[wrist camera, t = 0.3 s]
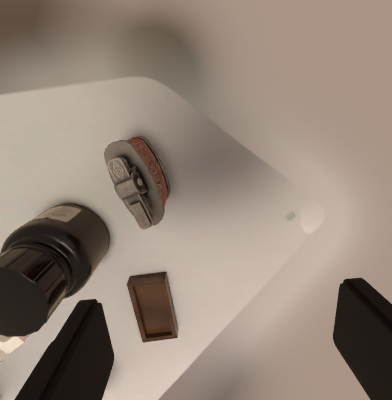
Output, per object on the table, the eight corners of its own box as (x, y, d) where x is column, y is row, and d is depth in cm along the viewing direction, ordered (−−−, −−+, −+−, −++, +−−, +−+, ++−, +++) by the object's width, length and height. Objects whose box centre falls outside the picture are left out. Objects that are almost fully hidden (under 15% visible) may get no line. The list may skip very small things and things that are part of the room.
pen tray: (129, 276, 32) (126, 284, 31) (166, 271, 32) (164, 279, 31) (144, 333, 35) (142, 342, 34) (178, 328, 35) (177, 338, 34)
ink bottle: (72, 186, 28) (-7, 228, 17) (126, 236, 30) (89, 304, 19) (21, 235, 30) (-81, 304, 19) (76, 279, 32) (14, 365, 21)
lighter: (120, 142, 27) (81, 153, 17) (147, 131, 27) (123, 135, 17) (150, 205, 29) (131, 244, 20) (176, 194, 29) (169, 230, 19)
